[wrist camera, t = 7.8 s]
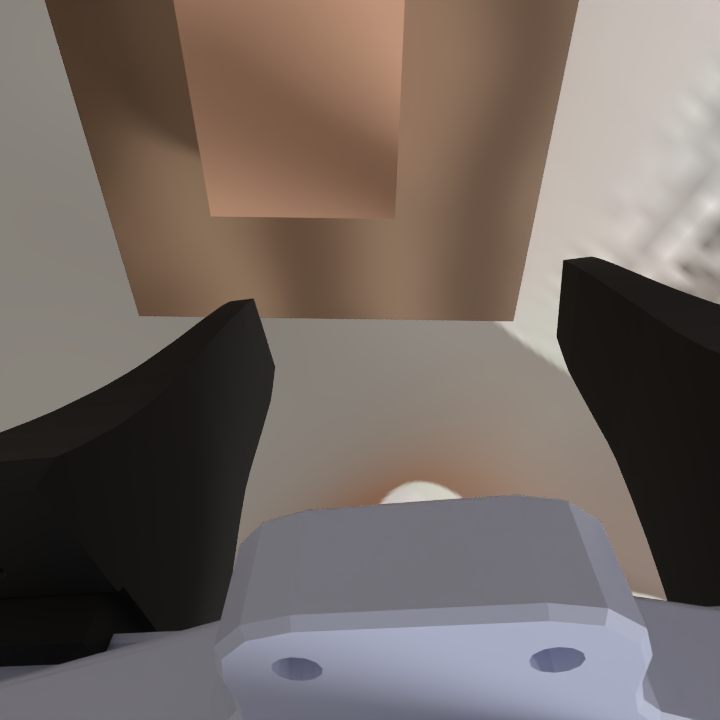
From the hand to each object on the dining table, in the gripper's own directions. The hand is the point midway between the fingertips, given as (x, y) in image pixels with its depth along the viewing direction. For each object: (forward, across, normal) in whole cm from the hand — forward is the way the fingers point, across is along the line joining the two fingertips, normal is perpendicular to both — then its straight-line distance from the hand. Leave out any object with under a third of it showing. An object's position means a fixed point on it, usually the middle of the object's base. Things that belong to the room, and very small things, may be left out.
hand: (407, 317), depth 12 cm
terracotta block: (+7, +2, -4) cm, 8 cm away
